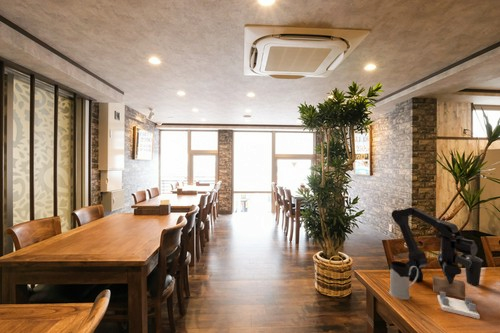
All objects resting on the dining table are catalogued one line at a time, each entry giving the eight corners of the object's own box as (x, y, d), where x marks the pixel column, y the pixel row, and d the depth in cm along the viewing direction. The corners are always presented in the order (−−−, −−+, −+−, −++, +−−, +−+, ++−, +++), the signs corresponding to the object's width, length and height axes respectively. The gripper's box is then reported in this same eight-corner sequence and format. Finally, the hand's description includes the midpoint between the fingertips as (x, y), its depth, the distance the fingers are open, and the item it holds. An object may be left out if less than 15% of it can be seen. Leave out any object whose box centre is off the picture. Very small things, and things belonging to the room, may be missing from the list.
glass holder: (385, 290, 120) (385, 260, 120) (411, 289, 121) (411, 260, 121) (397, 299, 111) (397, 268, 111) (425, 298, 112) (425, 267, 112)
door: (433, 291, 119) (433, 278, 119) (432, 289, 121) (432, 275, 121) (465, 298, 113) (465, 284, 113) (463, 295, 115) (463, 281, 115)
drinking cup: (486, 287, 123) (486, 249, 123) (469, 286, 124) (469, 248, 124) (475, 281, 130) (475, 245, 130) (459, 279, 132) (459, 244, 132)
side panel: (442, 310, 103) (442, 300, 103) (437, 298, 113) (437, 288, 113) (479, 318, 97) (479, 308, 97) (470, 305, 107) (470, 295, 107)
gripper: (476, 258, 105) (476, 293, 105) (464, 246, 121) (463, 276, 121) (444, 253, 111) (444, 286, 110) (436, 242, 127) (436, 271, 127)
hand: (448, 279), depth 117 cm, fingers open, 9 cm apart
